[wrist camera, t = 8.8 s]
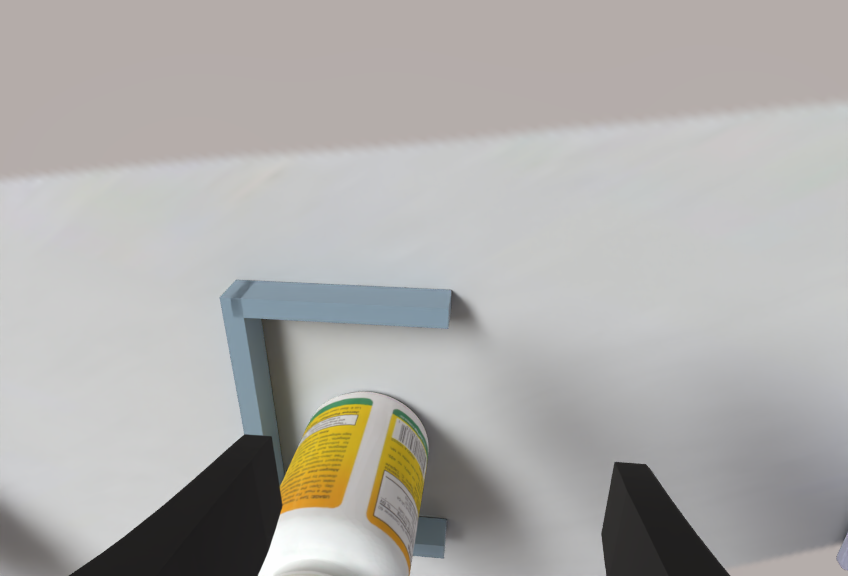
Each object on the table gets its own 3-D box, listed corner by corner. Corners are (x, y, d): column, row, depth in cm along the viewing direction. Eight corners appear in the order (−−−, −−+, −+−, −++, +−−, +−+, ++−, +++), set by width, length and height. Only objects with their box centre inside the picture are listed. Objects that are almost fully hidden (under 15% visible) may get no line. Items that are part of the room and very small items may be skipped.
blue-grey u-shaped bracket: (451, 289, 22) (448, 309, 20) (446, 531, 27) (443, 558, 26) (236, 280, 22) (219, 297, 21) (274, 516, 28) (263, 541, 27)
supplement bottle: (448, 413, 24) (422, 637, 16) (406, 496, 27) (364, 731, 18) (326, 368, 24) (233, 573, 15) (296, 457, 26) (200, 677, 18)
